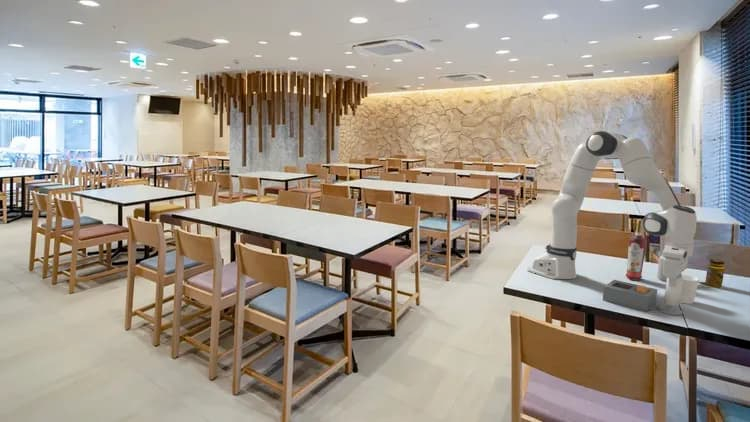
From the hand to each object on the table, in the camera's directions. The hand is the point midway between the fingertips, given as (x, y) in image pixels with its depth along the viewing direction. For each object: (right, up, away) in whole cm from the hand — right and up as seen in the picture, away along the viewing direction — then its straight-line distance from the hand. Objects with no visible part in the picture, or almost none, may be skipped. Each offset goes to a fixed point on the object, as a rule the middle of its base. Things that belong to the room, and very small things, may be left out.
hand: (673, 284), depth 167 cm
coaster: (0, -11, +2) cm, 11 cm away
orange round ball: (-8, -7, +8) cm, 13 cm away
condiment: (+39, -6, +32) cm, 50 cm away
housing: (-11, -9, +11) cm, 18 cm away
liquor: (+8, -4, +40) cm, 41 cm away
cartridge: (0, -8, +1) cm, 8 cm away
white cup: (+13, -9, +13) cm, 20 cm away
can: (+23, -5, +39) cm, 46 cm away
